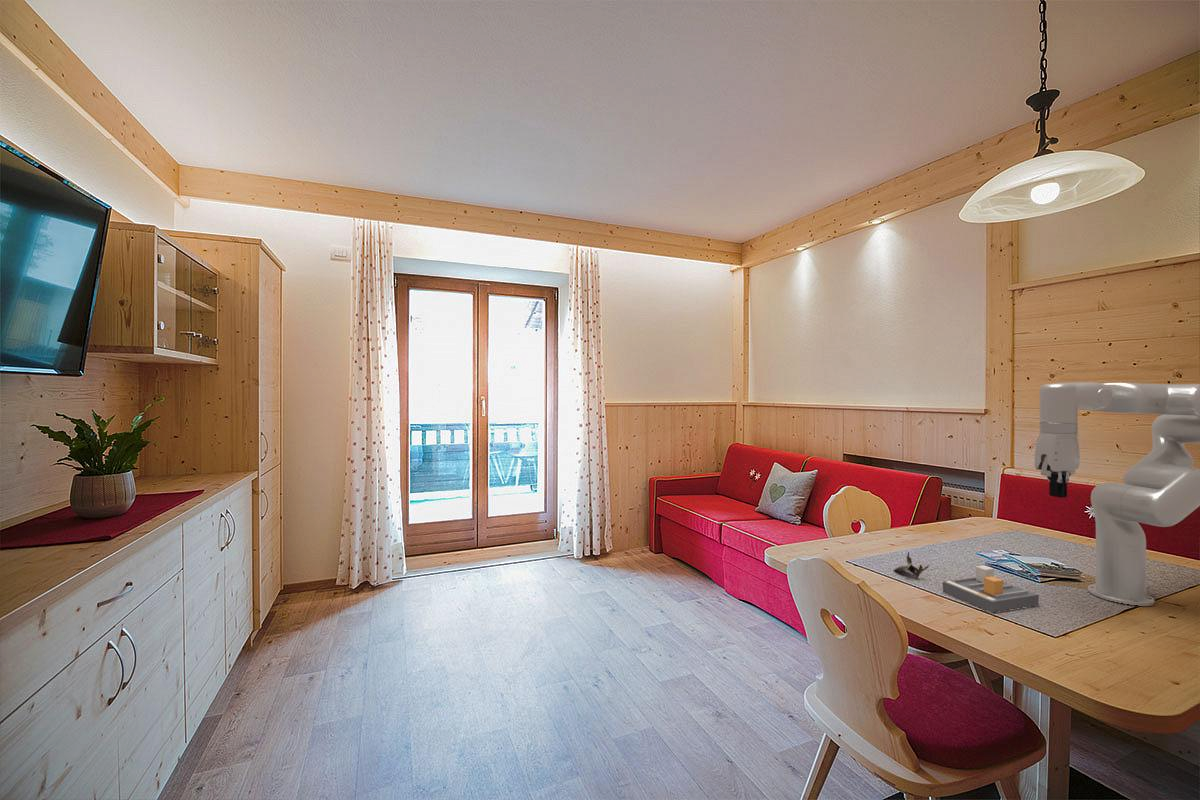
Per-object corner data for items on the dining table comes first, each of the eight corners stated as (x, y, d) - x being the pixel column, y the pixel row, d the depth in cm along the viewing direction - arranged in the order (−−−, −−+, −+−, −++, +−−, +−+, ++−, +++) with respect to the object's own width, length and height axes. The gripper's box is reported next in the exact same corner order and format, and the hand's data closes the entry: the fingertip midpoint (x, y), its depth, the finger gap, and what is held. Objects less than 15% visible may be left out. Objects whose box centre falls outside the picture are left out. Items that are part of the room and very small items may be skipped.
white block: (984, 578, 141) (983, 565, 141) (993, 582, 139) (993, 568, 139) (975, 580, 141) (975, 566, 141) (985, 583, 138) (985, 569, 138)
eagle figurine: (934, 575, 150) (912, 559, 159) (925, 558, 149) (904, 543, 157) (913, 588, 150) (893, 572, 159) (904, 572, 149) (884, 556, 157)
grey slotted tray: (986, 585, 144) (986, 573, 144) (1038, 605, 131) (1038, 591, 131) (942, 591, 140) (942, 578, 140) (992, 613, 127) (992, 598, 127)
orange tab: (992, 590, 133) (992, 576, 133) (1003, 595, 130) (1003, 580, 130) (983, 592, 132) (983, 577, 132) (994, 596, 130) (994, 581, 130)
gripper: (1062, 427, 137) (1062, 492, 137) (1022, 429, 133) (1022, 495, 134) (1095, 429, 130) (1095, 497, 130) (1053, 431, 126) (1053, 501, 126)
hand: (1058, 496), depth 132 cm, fingers closed
